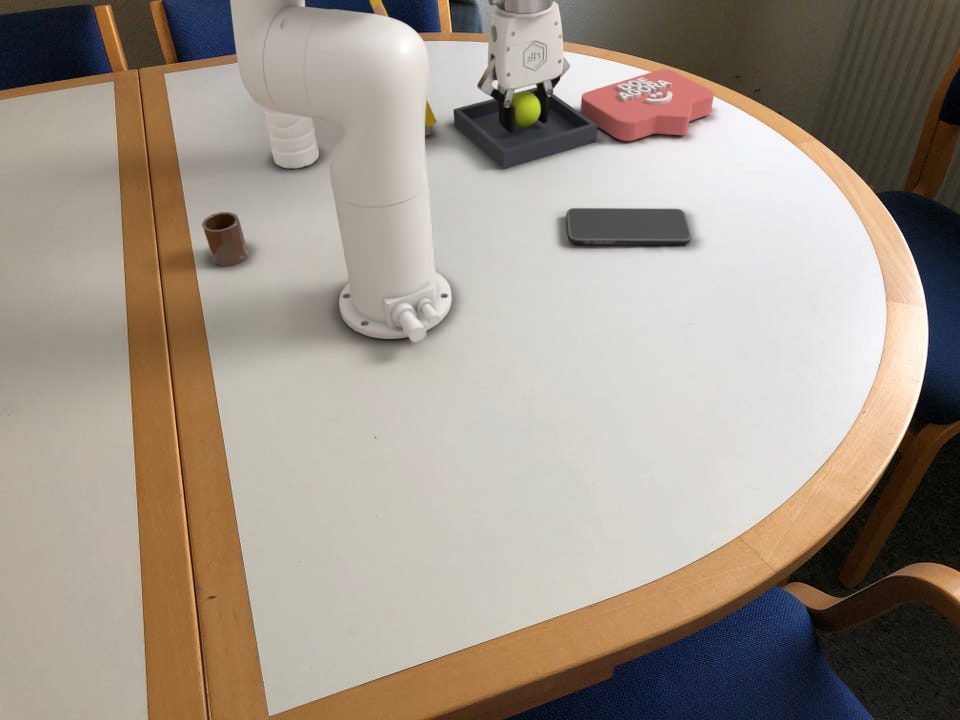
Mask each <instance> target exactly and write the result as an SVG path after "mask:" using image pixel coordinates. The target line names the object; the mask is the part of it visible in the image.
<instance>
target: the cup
mask: <svg viewBox="0 0 960 720" xmlns="http://www.w3.org/2000/svg"><path fill="white" fill-rule="evenodd" d="M201 227H202V230H203V233H204V236H205V239H206V243H207V246H208V250H209V252H210V255H211V257H212V261H213V262H214V264H216V265H218V266H221V267H231V266H236V265H238V264H241V263H242V262H243V261H245V260H246V259H247V257H248V255H249V252H248V246H247V243H246V238H245V237H244V236H245V235H244V233H243V229H242V225H241V221H240V218H239V217H238V214H235V213H234V212H229V211H220V212H218V213H217V212H216V213H213V214H210V215H209V216H207V217H205V218H204V219H203V221H202V223H201Z"/></svg>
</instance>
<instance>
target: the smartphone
mask: <svg viewBox="0 0 960 720" xmlns="http://www.w3.org/2000/svg"><path fill="white" fill-rule="evenodd" d="M565 215H566V216H565V217H566V225H567V226H566V227H567V239H568V241H569V242H570V243H572V244H574V245H658V246H659V245H661V246H662V245H664V246H665V245H669V246H670V245H673V246H674V245H679V246H680V245H682V246H684V245H688V244H690V242H691V240H692V234H691V231H690V227H689V223H688V219H687V217H686V213H685V211H684V210H683V209H680V208H635V207H634V208H630V207H629V208H628V207H627V208H623V207H620V208H618V207H617V208H616V207H615V208H614V207H611V208H607V207H606V208H605V207H604V208H603V207H572V208H569V209H568V210H567V211H566V214H565Z"/></svg>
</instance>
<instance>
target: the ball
mask: <svg viewBox="0 0 960 720" xmlns="http://www.w3.org/2000/svg"><path fill="white" fill-rule="evenodd" d="M515 93H516V94H514V95H513V99H512V103H511V105H513V106H514V107H515V125H517V126H520V127H527V126H530V125H532V124H533V123H535V122H536V121H537V119H538V118H539V115H540V112H541V106H540V102H539V100H538V98H537V97H536V96H535V95H534V94H532V93H530V92H527V91H525V90H521V91H518V93H517V92H515Z"/></svg>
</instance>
